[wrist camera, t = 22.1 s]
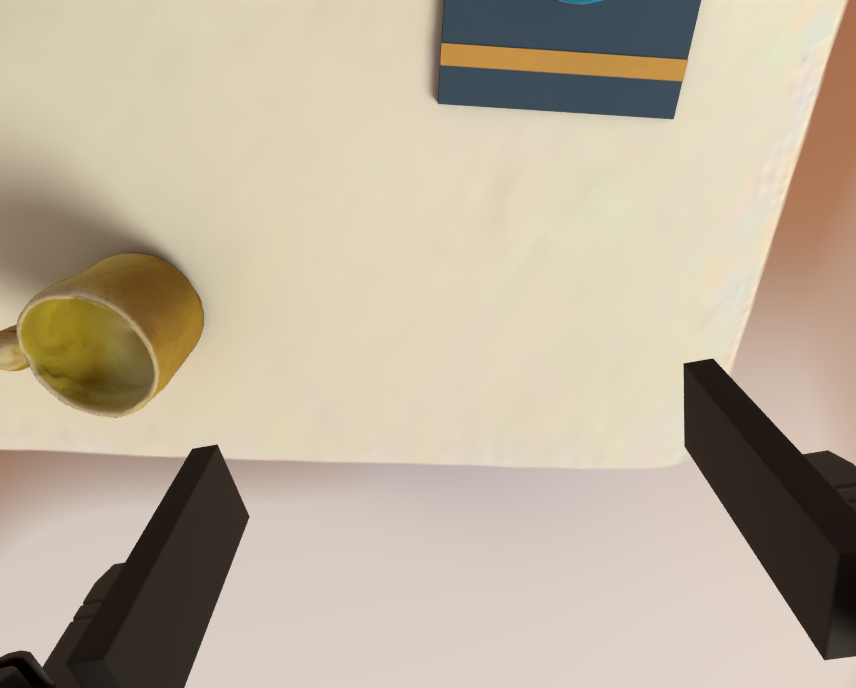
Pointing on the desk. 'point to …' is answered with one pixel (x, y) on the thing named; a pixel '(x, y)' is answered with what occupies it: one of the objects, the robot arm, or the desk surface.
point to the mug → (107, 334)
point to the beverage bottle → (580, 1)
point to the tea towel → (567, 55)
